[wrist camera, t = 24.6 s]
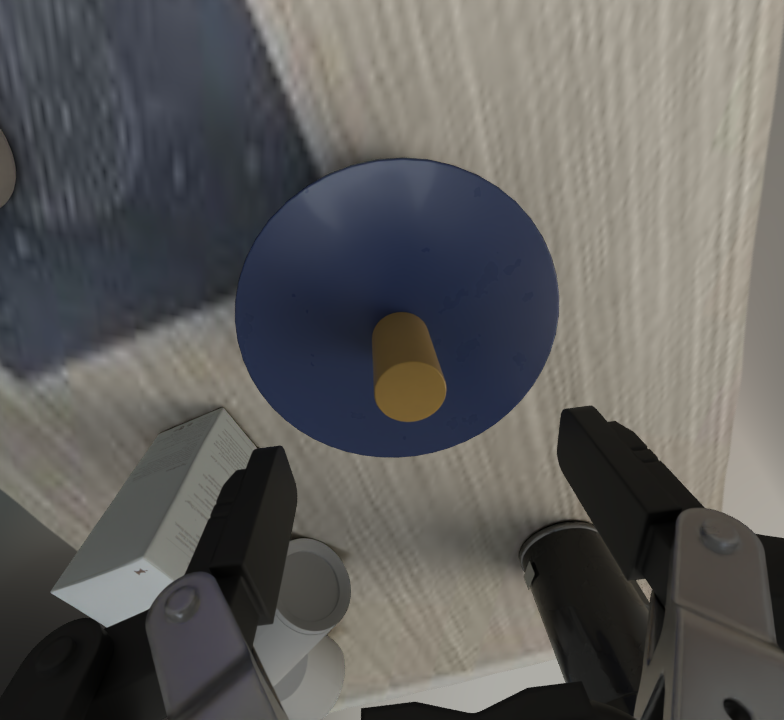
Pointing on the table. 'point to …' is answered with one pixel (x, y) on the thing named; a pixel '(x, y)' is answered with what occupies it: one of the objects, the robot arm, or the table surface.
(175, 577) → the small box
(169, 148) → the table surface
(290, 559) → the bent grey cylinder
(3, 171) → the coffee cup
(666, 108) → the table surface
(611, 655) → the robot arm
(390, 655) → the table surface
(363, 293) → the lid
